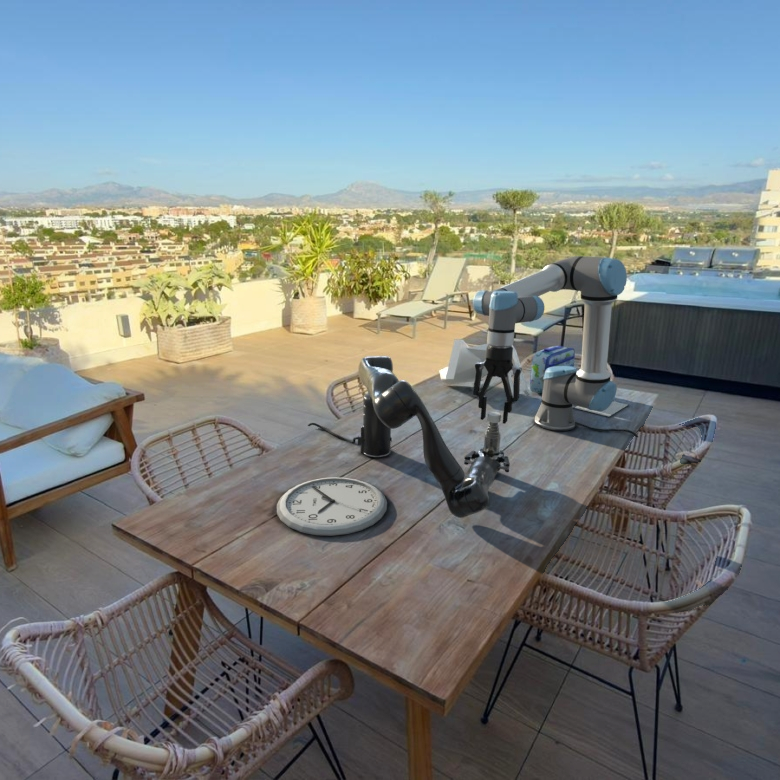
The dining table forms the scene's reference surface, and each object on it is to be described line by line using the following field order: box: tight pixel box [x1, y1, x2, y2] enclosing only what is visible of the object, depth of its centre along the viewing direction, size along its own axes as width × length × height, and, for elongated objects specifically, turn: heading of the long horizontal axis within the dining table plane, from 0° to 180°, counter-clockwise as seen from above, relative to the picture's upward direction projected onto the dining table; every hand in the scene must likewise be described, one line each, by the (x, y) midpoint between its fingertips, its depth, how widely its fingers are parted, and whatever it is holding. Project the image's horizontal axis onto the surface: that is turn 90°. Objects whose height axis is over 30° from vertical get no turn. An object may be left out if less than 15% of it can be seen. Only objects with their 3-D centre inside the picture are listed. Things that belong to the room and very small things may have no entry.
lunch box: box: [529, 345, 576, 394], centre depth 244 cm, size 26×11×21 cm, turn 135°
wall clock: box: [276, 476, 388, 537], centre depth 142 cm, size 30×2×30 cm
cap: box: [487, 411, 502, 424], centre depth 158 cm, size 4×4×2 cm
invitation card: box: [573, 400, 629, 418], centre depth 226 cm, size 21×1×15 cm
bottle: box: [483, 421, 501, 476], centre depth 161 cm, size 5×5×19 cm
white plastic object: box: [438, 338, 531, 397], centre depth 245 cm, size 37×45×31 cm
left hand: (492, 451), depth 164 cm, fingers closed on bottle, 4 cm apart
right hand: (493, 420), depth 158 cm, fingers open, 6 cm apart
